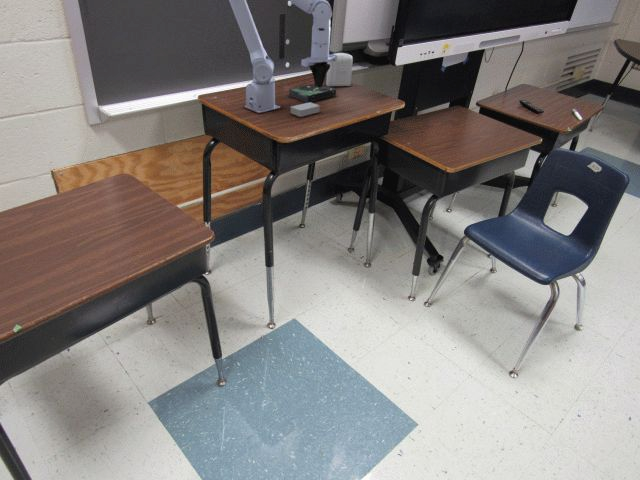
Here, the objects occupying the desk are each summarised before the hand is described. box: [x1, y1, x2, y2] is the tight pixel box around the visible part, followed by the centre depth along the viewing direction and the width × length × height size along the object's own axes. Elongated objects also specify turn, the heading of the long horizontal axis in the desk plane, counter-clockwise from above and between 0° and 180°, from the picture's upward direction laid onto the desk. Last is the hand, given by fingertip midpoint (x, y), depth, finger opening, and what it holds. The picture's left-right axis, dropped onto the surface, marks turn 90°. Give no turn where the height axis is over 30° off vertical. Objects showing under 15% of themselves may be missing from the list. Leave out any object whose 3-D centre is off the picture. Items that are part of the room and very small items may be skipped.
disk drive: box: [288, 83, 337, 103], centre depth 167 cm, size 10×3×15 cm
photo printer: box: [325, 52, 354, 87], centre depth 179 cm, size 10×4×12 cm, turn 109°
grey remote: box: [290, 101, 321, 118], centre depth 151 cm, size 2×5×9 cm
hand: (318, 86), depth 151 cm, fingers closed
